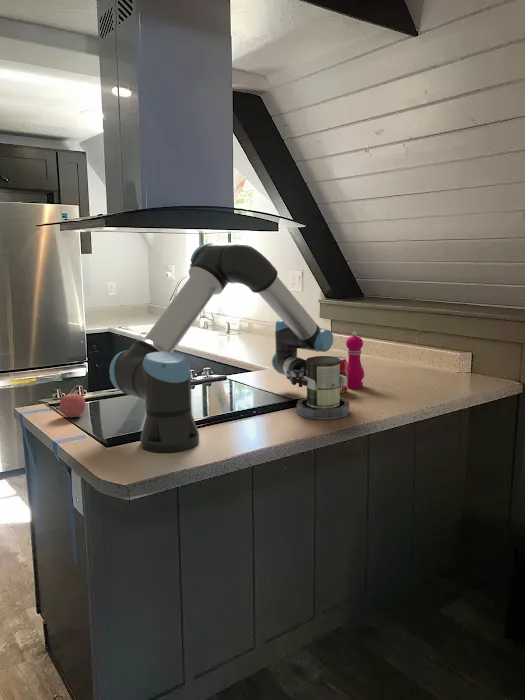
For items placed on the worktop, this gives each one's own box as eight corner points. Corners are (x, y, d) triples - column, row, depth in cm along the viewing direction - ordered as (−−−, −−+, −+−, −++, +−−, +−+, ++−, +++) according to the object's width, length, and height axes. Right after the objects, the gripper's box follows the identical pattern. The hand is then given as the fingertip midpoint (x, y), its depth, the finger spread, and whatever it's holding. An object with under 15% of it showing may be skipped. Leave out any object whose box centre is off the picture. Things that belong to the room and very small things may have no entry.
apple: (60, 415, 178) (58, 390, 177) (85, 412, 181) (83, 387, 179) (61, 421, 171) (59, 395, 170) (87, 419, 174) (85, 393, 172)
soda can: (345, 394, 197) (345, 360, 195) (325, 393, 200) (325, 359, 198) (349, 390, 204) (349, 356, 202) (329, 388, 206) (330, 355, 204)
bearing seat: (311, 422, 167) (311, 412, 166) (289, 408, 181) (289, 399, 181) (358, 416, 172) (358, 406, 172) (333, 403, 187) (333, 394, 186)
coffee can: (301, 406, 174) (300, 361, 172) (314, 398, 183) (313, 354, 181) (333, 410, 170) (333, 363, 167) (345, 401, 179) (345, 357, 176)
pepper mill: (356, 390, 204) (357, 334, 200) (340, 387, 209) (340, 332, 205) (367, 386, 209) (368, 331, 206) (351, 383, 214) (351, 330, 210)
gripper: (328, 377, 196) (362, 391, 176) (267, 383, 188) (295, 399, 168) (328, 355, 195) (363, 367, 175) (266, 361, 187) (295, 374, 166)
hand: (329, 383), depth 171 cm, fingers closed on coffee can, 10 cm apart
